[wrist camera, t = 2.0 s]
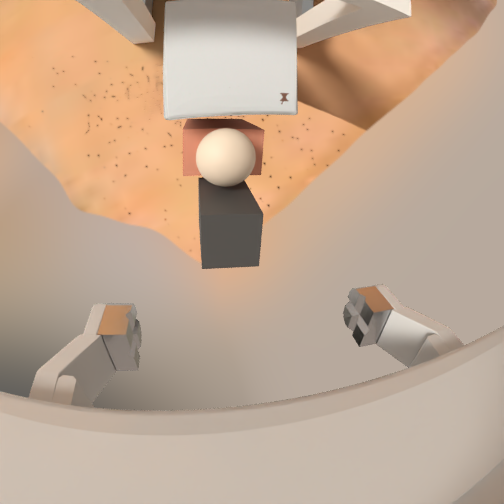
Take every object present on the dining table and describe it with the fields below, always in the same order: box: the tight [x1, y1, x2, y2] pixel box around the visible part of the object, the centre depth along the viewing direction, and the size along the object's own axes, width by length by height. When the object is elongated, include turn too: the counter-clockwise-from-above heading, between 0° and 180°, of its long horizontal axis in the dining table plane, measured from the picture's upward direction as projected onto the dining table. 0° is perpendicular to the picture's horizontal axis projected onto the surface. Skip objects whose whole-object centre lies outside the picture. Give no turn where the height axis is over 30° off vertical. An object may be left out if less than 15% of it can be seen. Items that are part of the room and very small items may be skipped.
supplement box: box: [163, 0, 298, 120], centre depth 17 cm, size 7×7×13 cm
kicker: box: [183, 119, 264, 269], centre depth 20 cm, size 7×5×14 cm
